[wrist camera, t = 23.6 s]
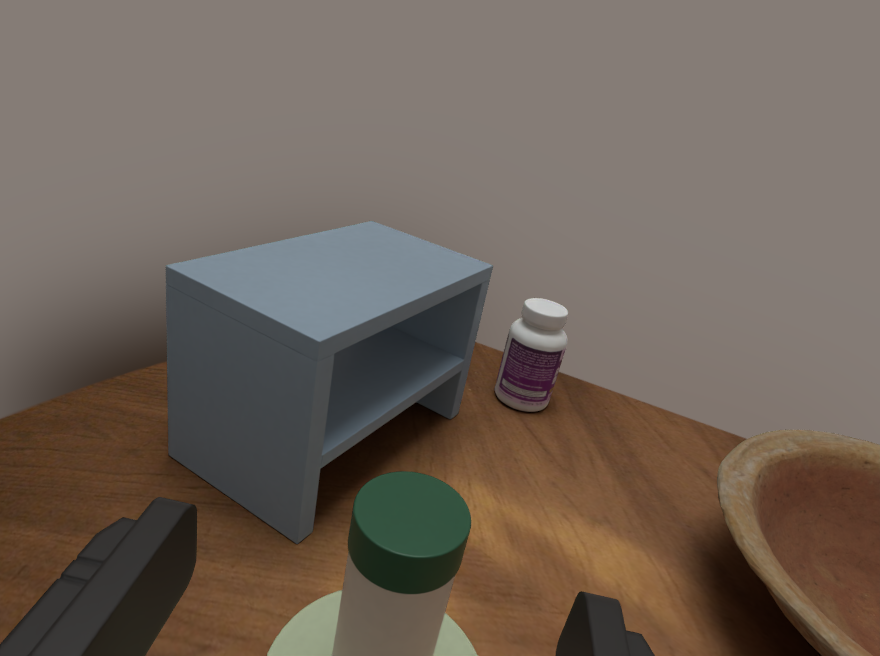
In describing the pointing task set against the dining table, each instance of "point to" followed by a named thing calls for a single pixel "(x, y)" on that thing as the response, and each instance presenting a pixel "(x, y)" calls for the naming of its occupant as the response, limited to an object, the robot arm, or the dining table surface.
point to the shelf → (311, 356)
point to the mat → (313, 632)
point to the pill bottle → (532, 356)
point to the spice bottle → (400, 565)
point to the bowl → (811, 531)
